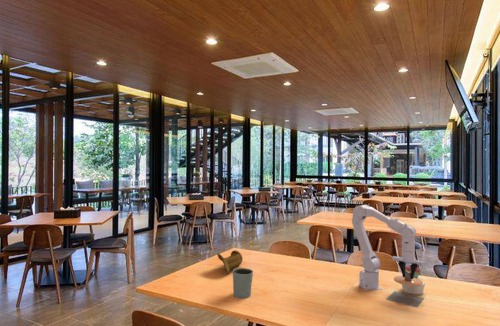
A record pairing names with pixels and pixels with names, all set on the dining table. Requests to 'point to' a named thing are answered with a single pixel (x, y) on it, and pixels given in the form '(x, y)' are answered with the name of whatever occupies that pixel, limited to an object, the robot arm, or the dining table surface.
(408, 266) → the cupcake
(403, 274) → the robot arm
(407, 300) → the mat
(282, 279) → the dining table surface
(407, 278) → the lid
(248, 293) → the grey cup
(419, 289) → the ramekin
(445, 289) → the dining table surface
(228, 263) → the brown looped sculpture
